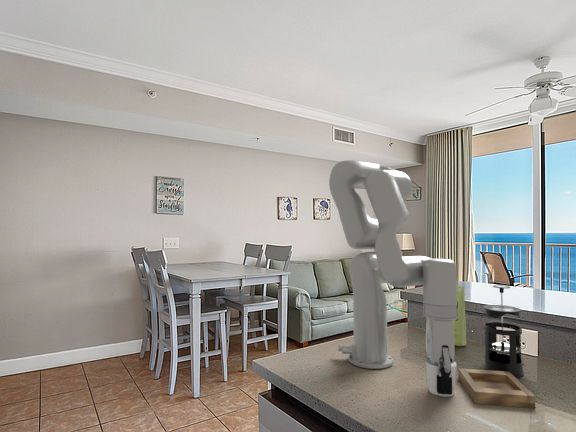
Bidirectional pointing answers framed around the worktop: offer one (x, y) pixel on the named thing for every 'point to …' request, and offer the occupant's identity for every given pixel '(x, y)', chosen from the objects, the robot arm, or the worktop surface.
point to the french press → (500, 360)
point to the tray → (496, 388)
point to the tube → (460, 319)
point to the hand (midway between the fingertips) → (441, 386)
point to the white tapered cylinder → (432, 376)
